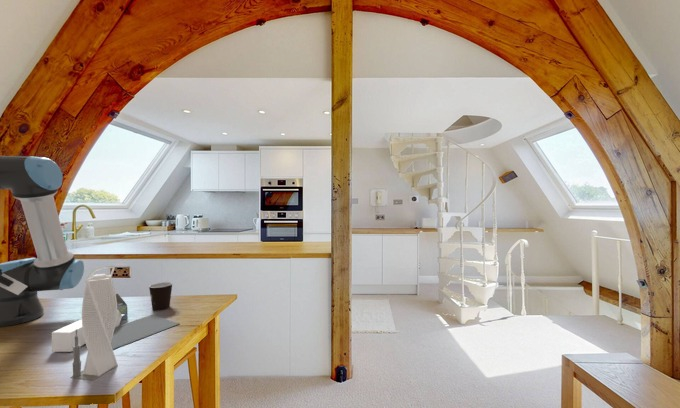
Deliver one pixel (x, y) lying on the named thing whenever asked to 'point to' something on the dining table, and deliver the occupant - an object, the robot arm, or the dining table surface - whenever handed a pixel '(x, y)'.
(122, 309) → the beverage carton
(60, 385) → the dining table surface
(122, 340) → the mat
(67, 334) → the milk
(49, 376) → the dining table surface
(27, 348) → the dining table surface
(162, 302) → the coffee mug
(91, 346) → the skyscraper
